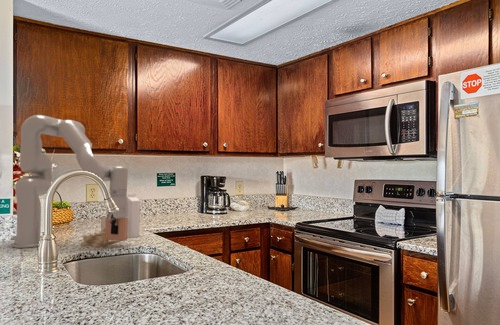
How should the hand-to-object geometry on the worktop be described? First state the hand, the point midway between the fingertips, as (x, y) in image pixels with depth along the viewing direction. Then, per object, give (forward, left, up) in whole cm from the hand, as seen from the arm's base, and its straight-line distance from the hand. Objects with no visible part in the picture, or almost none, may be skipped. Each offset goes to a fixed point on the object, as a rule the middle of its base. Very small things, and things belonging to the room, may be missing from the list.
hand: (116, 233), depth 176 cm
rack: (-11, +7, -6) cm, 14 cm away
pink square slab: (0, 0, -3) cm, 3 cm away
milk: (-7, +25, -6) cm, 27 cm away
